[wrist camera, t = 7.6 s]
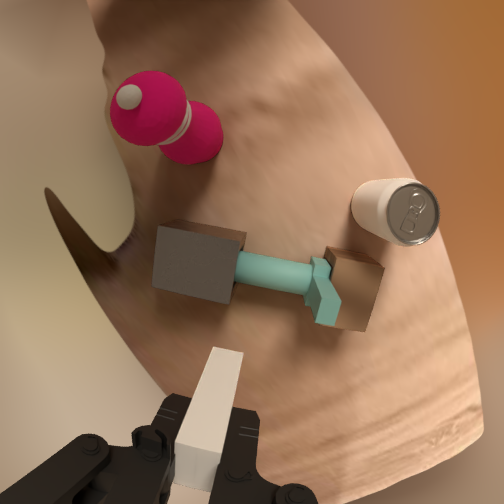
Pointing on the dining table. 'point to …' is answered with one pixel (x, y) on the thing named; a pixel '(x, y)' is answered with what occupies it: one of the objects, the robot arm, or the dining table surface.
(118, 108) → the pepper mill
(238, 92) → the dining table surface
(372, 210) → the can
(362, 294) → the socket
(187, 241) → the gray block
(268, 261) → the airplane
